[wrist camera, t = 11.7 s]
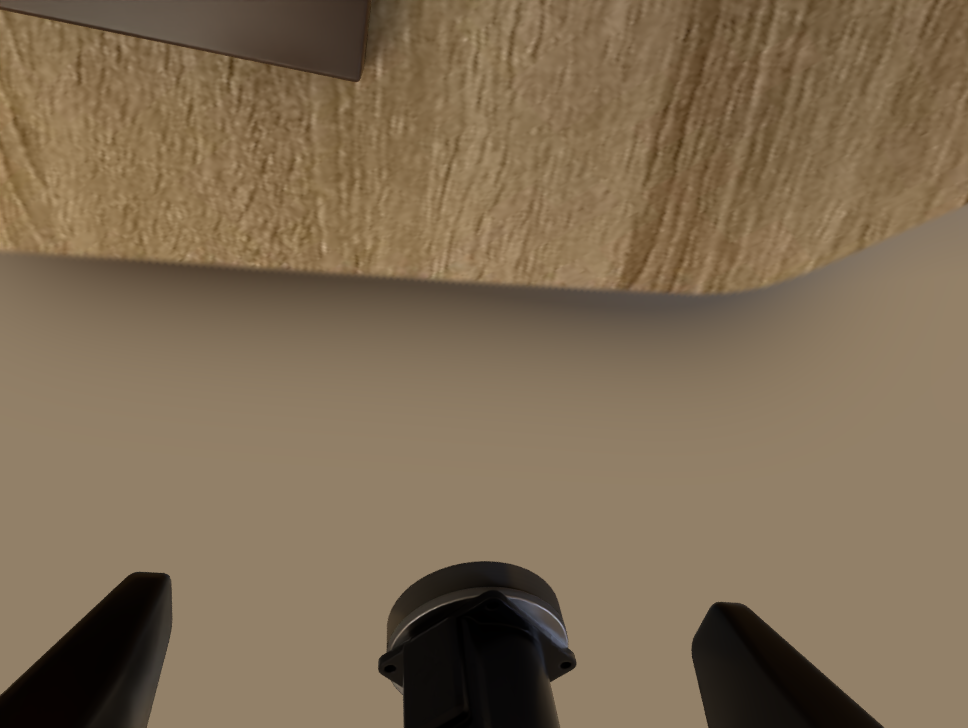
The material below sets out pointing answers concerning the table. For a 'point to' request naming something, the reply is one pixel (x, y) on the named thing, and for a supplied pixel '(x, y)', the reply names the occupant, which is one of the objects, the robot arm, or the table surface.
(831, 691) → the robot arm
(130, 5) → the button block
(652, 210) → the table surface
